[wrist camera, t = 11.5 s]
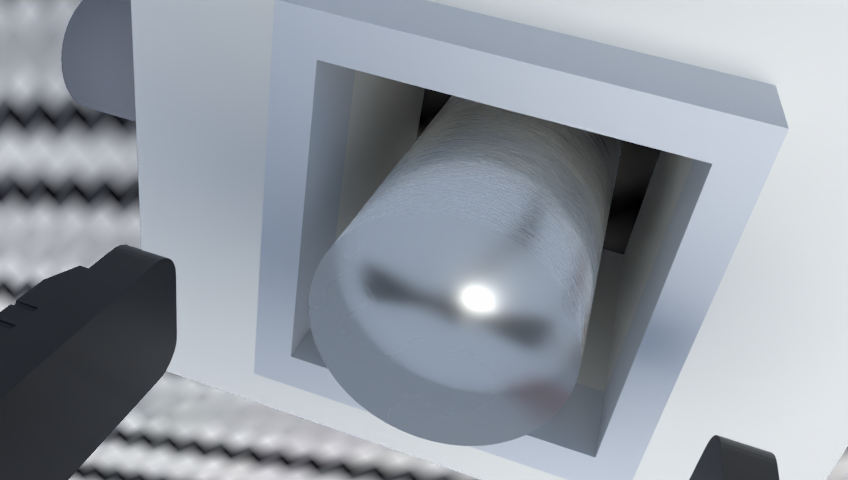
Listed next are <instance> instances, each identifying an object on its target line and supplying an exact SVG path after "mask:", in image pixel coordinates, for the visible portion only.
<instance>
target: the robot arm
mask: <svg viewBox="0 0 848 480" xmlns="http://www.w3.org/2000/svg"><path fill="white" fill-rule="evenodd" d="M176 342H177V307H176V269H175V265H174V263H173V261H172V260H171V259H169V258H166V257H163V256H159V255H156V254H153V253H150V252H147V251H144V250H141V249H138V248H134V247H131V246H128V245H120V246H118V247H116V248H114V249H113V250H112V251H110V252H109V253H108V254H106V255H105V256H104V257H103V258H101V259H100V260H99V261H98V262H96V263H95V264H94V265H92V266H91V267H90V268H89V269H88V268H85V267H82V266H78V267H75V268H73V269H70V270H68V271H65V272H62V273H60V274H57V275H55V276H52V277H50V278H47V279H44V280H43V281H41V282H40V283H39V284H37V285H36V286H35V287H33V288H32V289H31V290H29V291H28V292H27V293H25V294H24V295H23V296H21V297H20V298H19V299H17V300H16V304H15V305H9V306H8V307H7V308H5V309H4V310H3V311H1V312H0V480H68V479H69V478H70V477H71V476H72V475H73V474H74V473H75V472H76V471H77V469H78V468H79V467H80V466H81V465H82V464H83V463H84V462H85V461H86V460H87V458H88V457H89V456H90V455H91V454H92V453H93V452H94V451H95V450H96V449H97V447H98V446H99V445H100V444H101V443H102V442H103V441H104V440H105V439H106V438H107V436H108V435H109V434H110V433H111V432H112V431H113V430H114V429H115V428H116V427H117V425H118V424H119V423H120V422H121V421H122V420H123V419H124V418H125V417H126V416H127V414H128V413H129V412H130V411H131V410H132V409H133V408H134V407H135V406H136V405H137V403H138V402H139V401H140V400H141V399H142V398H143V397H144V396H145V395H146V394H147V392H148V391H149V390H150V389H151V388H152V387H153V386H154V385H155V384H156V383H157V381H158V380H159V379H160V378H161V377H162V376H163V374H164V373H165V371H166V370H167V368H168V366H169V364H170V362H171V360H172V357H173V354H174V351H175V347H176ZM689 480H779V473H778V465H777V460H776V457H775V455H774V454H773V453H771V452H768V451H765V450H762V449H759V448H756V447H753V446H750V445H746V444H743V443H740V442H737V441H734V440H731V439H728V438H725V437H721V436H718V435H714V436H713V437H712V438H711V439H710V440H709V442H708V444H707V445H706V447H705V449H704V451H703V453H702V455H701V457H700V459H699V461H698V463H697V465H696V467H695V469H694V471H693V473H692V475H691V477H690V479H689Z"/></svg>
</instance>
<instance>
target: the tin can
mask: <svg viewBox="0 0 848 480" xmlns="http://www.w3.org/2000/svg"><path fill="white" fill-rule="evenodd" d="M622 143H623V140H620V139H616V138H612V137H609V136H605V135H601V134H597V133H593V132H590V131H586V130H582V129H578V128H574V127H571V126H567V125H563V124H559V123H555V122H552V121H548V120H544V119H540V118H536V117H533V116H529V115H525V114H521V113H517V112H514V111H510V110H506V109H502V108H498V107H495V106H491V105H487V104H483V103H479V102H476V101H472V100H468V99H464V98H460V97H457V96H453V95H452V96H451V97H450V98H449V100H448V101H447V102H446V103H445V105H444V106H443V107H442V108H441V110H440V111H439V112H438V113H437V115H436V116H435V117H434V119H433V120H432V121H431V122H430V124H429V125H428V126H427V127H426V129H425V130H424V131H423V132H422V134H421V135H420V136H419V137H418V139H417V140H416V141H415V142H414V144H413V145H412V146H411V147H410V149H409V150H408V151H407V152H406V154H405V155H404V156H403V157H402V159H401V160H400V161H399V162H398V164H397V165H396V166H395V167H394V169H393V170H392V171H391V172H390V174H389V175H388V176H387V178H386V179H385V180H384V181H383V183H382V184H381V185H380V186H379V188H378V189H377V190H376V191H375V193H374V194H373V195H372V196H371V198H370V199H369V200H368V201H367V203H366V204H365V205H364V206H363V208H362V209H361V210H360V211H359V213H358V214H357V215H356V216H355V218H354V219H353V220H352V221H351V223H350V224H349V225H348V226H347V228H346V229H345V230H344V231H343V233H342V234H341V235H340V237H339V238H338V239H337V240H336V242H335V243H334V244H333V245H332V247H331V248H330V249H329V250H328V252H327V253H326V254H325V255H324V257H323V258H322V260H321V262H320V264H319V265H318V267H317V269H316V272H315V274H314V277H313V280H312V283H311V288H310V294H309V319H310V326H311V330H312V334H313V338H314V341H315V344H316V346H317V348H318V351H319V353H320V355H321V357H322V359H323V361H324V363H325V365H326V366H327V368H328V370H329V371H330V372H331V374H332V375H333V377H334V378H335V379H336V381H337V382H338V383H339V384H340V385H341V387H342V388H343V389H344V390H345V391H346V392H347V393H348V394H349V395H350V396H351V397H352V398H353V399H354V400H355V401H356V402H357V403H358V404H359V405H361V406H362V407H363V408H365V409H366V410H367V411H369V412H370V413H371V414H373V415H374V416H376V417H377V418H379V419H381V420H382V421H384V422H385V423H387V424H389V425H391V426H393V427H395V428H397V429H399V430H401V431H403V432H406V433H408V434H411V435H413V436H416V437H419V438H422V439H426V440H429V441H433V442H438V443H443V444H448V445H459V446H485V445H492V444H499V443H503V442H507V441H511V440H514V439H517V438H519V437H522V436H524V435H527V434H529V433H531V432H532V431H534V430H536V429H538V428H540V427H541V426H542V425H544V424H545V423H546V422H548V421H549V420H550V419H552V418H553V417H554V416H555V414H556V413H557V412H558V411H559V410H560V409H561V408H562V407H563V405H564V404H565V403H566V401H567V400H568V398H569V397H570V395H571V393H572V391H573V388H574V386H575V384H576V382H577V378H578V374H579V370H580V366H581V361H582V355H583V350H584V345H585V339H586V334H587V329H588V323H589V318H590V313H591V307H592V302H593V297H594V291H595V286H596V281H597V276H598V270H599V265H600V260H601V254H602V249H603V244H604V238H605V233H606V228H607V222H608V217H609V212H610V206H611V201H612V196H613V191H614V185H615V180H616V175H617V169H618V164H619V159H620V153H621V148H622Z"/></svg>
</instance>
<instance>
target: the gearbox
mask: <svg viewBox="0 0 848 480" xmlns="http://www.w3.org/2000/svg"><path fill="white" fill-rule="evenodd" d="M61 60H62V72H63V77H64V81H65V84H66V87H67V89H68V91H69V93H70V95H71V96H72V97H73V99H74V100H75V101H76V102H77V103H79V104H80V105H82V106H84V107H87V108H90V109H94V110H97V111H101V112H104V113H108V114H111V115H114V116H118V117H121V118H125V119H128V120H132V121H135V122H136V132H137V156H138V179H139V203H140V226H141V249H142V250H144V251H147V252H150V253H153V254H156V255H159V256H163V257H166V258H169V259H171V260H172V261H173V263H174V265H175V269H176V307H177V342H176V347H175V351H174V354H173V357H172V360H171V362H170V364H169V366H168V368H167V370H166V371H167V372H170V373H173V374H176V375H179V376H182V377H185V378H187V379H190V380H193V381H196V382H199V383H202V384H205V385H208V386H211V387H214V388H216V389H219V390H222V391H225V392H228V393H231V394H234V395H237V396H240V397H243V398H245V399H248V400H251V401H254V402H257V403H260V404H263V405H266V406H269V407H271V408H274V409H277V410H280V411H283V412H286V413H289V414H292V415H295V416H298V417H300V418H303V419H306V420H309V421H312V422H315V423H318V424H321V425H324V426H327V427H329V428H332V429H335V430H338V431H341V432H344V433H347V434H350V435H353V436H355V437H358V438H361V439H364V440H367V441H370V442H373V443H376V444H379V445H382V446H384V447H387V448H390V449H393V450H396V451H399V452H402V453H405V454H408V455H410V456H413V457H416V458H419V459H422V460H425V461H428V462H431V463H434V464H437V465H439V466H442V467H445V468H448V469H451V470H454V471H457V472H460V473H463V474H466V475H468V476H471V477H474V478H477V479H480V480H689V479H690V477H691V475H692V473H693V471H694V469H695V467H696V465H697V463H698V461H699V459H700V457H701V455H702V453H703V451H704V449H705V447H706V445H707V444H708V442H709V440H710V439H711V438H712V437H713V436H714V435H718V436H721V437H725V438H728V439H731V440H734V441H737V442H740V443H743V444H746V445H750V446H753V447H756V448H759V449H762V450H765V451H768V452H771V453H773V454H774V455H775V457H776V460H777V465H778V473H779V480H826V479H827V477H828V476H829V474H830V473H831V471H832V470H833V468H834V467H835V465H836V463H837V462H838V460H839V459H840V457H841V456H842V454H843V453H844V451H845V449H846V448H847V446H848V0H83V1H82V2H81V4H80V5H79V6H78V7H77V9H76V10H75V12H74V13H73V15H72V17H71V19H70V21H69V24H68V26H67V29H66V32H65V36H64V40H63V46H62V59H61ZM425 88H426V89H430V90H434V91H438V92H441V93H445V94H449V95H453V96H457V97H460V98H464V99H468V100H472V101H476V102H479V103H483V104H487V105H491V106H495V107H498V108H502V109H506V110H510V111H514V112H517V113H521V114H525V115H529V116H533V117H536V118H540V119H544V120H548V121H552V122H555V123H559V124H563V125H567V126H571V127H574V128H578V129H582V130H586V131H590V132H593V133H597V134H601V135H605V136H609V137H612V138H616V139H620V140H624V141H628V142H631V143H635V144H639V145H643V146H647V147H650V148H654V149H658V150H661V151H660V154H659V157H658V160H657V163H656V165H655V168H654V171H653V174H652V177H651V179H650V182H649V185H648V188H647V191H646V194H645V196H644V199H643V202H642V205H641V208H640V210H639V213H638V216H637V219H636V222H635V224H634V227H633V230H632V233H631V236H630V239H629V241H628V244H627V247H626V250H625V253H624V254H620V253H617V252H613V251H610V250H606V249H602V254H601V260H600V265H599V270H598V276H597V281H596V286H595V291H594V297H593V302H592V307H591V313H590V318H589V323H588V329H587V334H586V339H585V345H584V350H583V355H582V361H581V366H580V370H579V374H578V378H577V382H576V384H575V386H574V388H573V391H572V393H571V395H570V397H569V398H568V400H567V401H566V403H565V404H564V405H563V407H562V408H561V409H560V410H559V411H558V412H557V413H556V414H555V416H554V417H553V418H552V419H550V420H549V421H548V422H546V423H545V424H544V425H542V426H541V427H540V428H538V429H536V430H534V431H532V432H531V433H529V434H527V435H524V436H522V437H519V438H517V439H514V440H511V441H507V442H503V443H499V444H492V445H485V446H459V445H448V444H443V443H438V442H433V441H429V440H426V439H422V438H419V437H416V436H413V435H411V434H408V433H406V432H403V431H401V430H399V429H397V428H395V427H393V426H391V425H389V424H387V423H385V422H384V421H382V420H381V419H379V418H377V417H376V416H374V415H373V414H371V413H370V412H369V411H367V410H366V409H365V408H363V407H362V406H361V405H359V404H358V403H357V402H356V401H355V400H354V399H353V398H352V397H351V396H350V395H349V394H348V393H347V392H346V391H345V390H344V389H343V388H342V387H341V385H340V384H339V383H338V382H337V381H336V379H335V378H334V377H333V375H332V374H331V372H330V371H329V370H328V368H327V366H326V365H325V363H324V361H323V359H322V357H321V355H320V353H319V351H318V348H317V346H316V344H315V341H314V338H313V334H312V330H311V326H310V319H309V294H310V288H311V283H312V280H313V277H314V274H315V272H316V269H317V267H318V265H319V264H320V262H321V260H322V258H323V257H324V255H325V254H326V253H327V252H328V250H329V249H330V248H331V247H332V245H333V244H334V243H335V242H336V240H337V239H338V238H339V237H340V235H341V234H342V233H343V231H344V230H345V229H346V228H347V226H348V225H349V224H350V223H351V221H352V220H353V219H354V218H355V216H356V215H357V214H358V213H359V211H360V210H361V209H362V208H363V206H364V205H365V204H366V203H367V201H368V200H369V199H370V198H371V196H372V195H373V194H374V193H375V191H376V190H377V189H378V188H379V186H380V185H381V184H382V183H383V181H384V180H385V179H386V178H387V176H388V175H389V174H390V172H391V171H392V170H393V169H394V167H395V166H396V165H397V164H398V162H399V161H400V160H401V159H402V157H403V156H404V155H405V154H406V152H407V151H408V150H409V149H410V147H411V146H412V145H413V144H414V142H415V141H416V139H417V133H418V127H419V121H420V115H421V109H422V103H423V97H424V91H425Z"/></svg>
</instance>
